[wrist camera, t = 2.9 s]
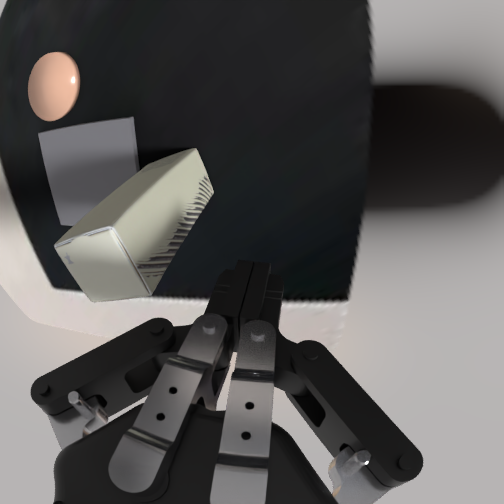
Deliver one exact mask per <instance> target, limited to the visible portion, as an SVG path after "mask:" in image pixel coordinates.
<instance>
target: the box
mask: <svg viewBox="0 0 504 504" xmlns="http://www.w3.org/2000/svg"><path fill="white" fill-rule="evenodd" d="M213 193H214V191H213V188H212V186H211V183H210V180H209V177H208V175H207V172H206V170H205V167H204V165H203V162H202V160H201V158H200V155H199V153H198V151H197V149H196V148H192V149H189V150H185V151H182V152H179V153H176V154H173V155H171V156H168V157H165V158H163V159H160V160H158V161H155V162H153V163H150V164H148V165H146V166H145V167H144V168H143V169H141V170H140V171H139V172H138V173H136V174H135V175H134V176H132V177H131V178H130V179H129V180H127V181H126V182H125V183H124V184H122V185H121V186H120V187H118V188H117V189H116V190H115V191H113V192H112V193H111V194H110V195H109V196H107V197H106V198H105V199H104V200H103V201H101V202H100V203H99V204H98V205H97V206H96V207H94V208H93V209H92V210H91V211H90V212H89V213H87V214H86V215H85V216H84V217H83V218H82V219H81V220H80V221H78V222H77V223H76V224H75V225H74V226H73V227H72V228H71V229H70V230H69V231H68V232H67V233H66V234H65V235H63V236H62V238H61V239H59V240H58V241H57V242H56V243H55V245H54V247H55V249H56V251H57V253H58V254H59V256H60V257H61V259H62V260H63V262H64V263H65V265H66V267H67V268H68V270H69V271H70V273H71V274H72V276H73V277H74V278H75V280H76V281H77V283H78V284H79V286H80V287H81V289H82V290H83V291H84V293H85V294H86V296H87V297H88V298H89V300H90V301H91V302H106V301H115V300H125V299H132V298H139V297H145V296H150V295H152V293H153V291H154V290H155V288H156V286H157V284H158V282H159V281H160V279H161V277H162V275H163V274H164V272H165V270H166V269H167V267H168V265H169V263H170V262H171V260H172V258H173V257H174V255H175V253H176V251H177V250H178V249H179V247H180V245H181V243H182V242H183V240H184V239H185V237H186V236H187V234H188V232H189V231H190V229H191V228H192V226H193V225H194V223H195V221H196V219H197V218H198V216H199V215H200V213H201V212H202V210H203V209H204V207H205V205H206V204H207V202H208V201H209V199H210V198H211V196H212V195H213Z"/></svg>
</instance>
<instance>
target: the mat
mask: <svg viewBox="0 0 504 504" xmlns="http://www.w3.org/2000/svg"><path fill="white" fill-rule="evenodd" d="M38 135H39V140H40V145H41V150H42V155H43V160H44V164H45V168H46V173H47V177H48V181H49V185H50V188H51V192H52V196H53V199H54V203H55V206H56V210H57V213H58V216H59V219H60V222H61V225H70V226H74V225H75V224H76V223H77V222H78V221H80V220H81V219H82V218H83V217H84V216H85V215H86V214H87V213H89V212H90V211H91V210H92V209H93V208H94V207H96V206H97V205H98V204H99V203H100V202H101V201H103V200H104V199H105V198H106V197H107V196H109V195H110V194H111V193H112V192H113V191H115V190H116V189H117V188H118V187H120V186H121V185H122V184H124V183H125V182H126V181H127V180H129V179H130V178H131V177H132V176H134V175H135V174H136V173H138V172H139V171H140V167H139V160H138V153H137V145H136V137H135V128H134V118H133V117H126V118H118V119H110V120H103V121H96V122H90V123H84V124H78V125H73V126H67V127H62V128H57V129H53V130H48V131H44V132H41V133H39V134H38Z"/></svg>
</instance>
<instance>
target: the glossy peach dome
mask: <svg viewBox="0 0 504 504" xmlns="http://www.w3.org/2000/svg"><path fill="white" fill-rule="evenodd" d="M79 89H80V74H79V70H78V67H77V64H76V62H75V61H74V59H73V58H72V57H71V56H70V55H69V54H67V53H64V52H53V53H48V54H46V55H44V56H43V57H41V58H40V59H39V60H38V62H37V63H36V64H35V66H34V68H33V70H32V72H31V75H30V78H29V84H28V95H29V101H30V104H31V107H32V109H33V110H34V112H35V113H36V115H37V116H39V117H40V118H41V119H43V120H46V121H54V120H57V119H59V118H62V117H64V116H65V115H67V114H68V113H69V112H70V111H71V109H72V108H73V107H74V105H75V103H76V101H77V98H78V94H79Z"/></svg>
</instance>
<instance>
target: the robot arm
mask: <svg viewBox="0 0 504 504" xmlns="http://www.w3.org/2000/svg"><path fill="white" fill-rule="evenodd" d="M270 269H271V263H263V262H255V263H254V262H253V261H244V260H238V262H237V265H236V268H235V270H228V269H226V270H225V271H224V272H223V273H222V274H221V275H219V278H218V280H217V283H216V285H215V288H214V291H213V293H212V295H211V298H210V300H209V303H208V305H207V308H206V310H205V313H204V315H201V316H200V317H198V318H197V319H196V320H195V321H194V323H193V324H191V325H186V326H174V327H173V325H172V323H171V322H170V321H169V320H167V319H165V318H153V319H151V320H148V321H147V322H145V323H143V324H141V325H139V326H137V327H135V328H133V329H131V330H130V331H128V332H126V333H124V334H122V335H120V336H118V337H116V338H114V339H112V340H111V341H109V342H107V343H105V344H103V345H101V346H99V347H97V348H95V349H93V350H91V351H89V352H88V353H86V354H84V355H82V356H80V357H78V358H76V359H74V360H72V361H70V362H68V363H66V364H64V365H62V366H60V367H59V368H57V369H55V370H53V371H51V372H49V373H47V374H45V375H43V376H41V377H39V378H38V379H37V380H35V382H34V383H33V385H32V387H31V397H32V399H33V400H34V402H35V403H36V404H37V405H38V406H39V407H40V408H42V410H43V411H44V412H45V413H46V414H47V415H48V417H49V420H50V423H51V425H52V428H53V430H54V432H55V435H56V438H57V440H58V442H59V445H60V447H61V449H62V451H61V452H60V453H59V455H58V456H57V458H56V461H55V464H54V479H55V499H54V503H53V504H373V503H374V502H375V501H377V500H378V499H379V498H381V497H382V496H383V495H384V494H386V493H387V492H388V491H389V490H391V489H393V488H396V487H398V486H400V485H402V484H404V483H406V482H408V481H410V480H412V479H414V478H415V477H416V476H417V475H418V474H419V473H420V471H421V469H422V467H423V457H422V454H421V452H420V451H419V450H418V449H417V448H416V447H415V445H414V444H413V443H412V442H411V441H410V440H409V439H408V438H407V437H406V436H405V435H404V433H403V432H401V430H400V429H399V428H398V427H397V426H396V425H395V424H394V423H393V422H392V420H391V419H390V418H389V417H388V416H387V415H386V414H385V413H384V412H383V410H382V409H381V408H380V407H379V406H378V405H377V404H376V403H375V402H374V401H373V400H372V398H371V397H370V396H369V395H368V394H367V393H366V392H365V391H364V390H363V389H362V387H361V386H360V385H359V384H358V383H357V382H356V381H355V380H354V378H353V377H352V376H351V375H350V374H349V373H348V372H347V371H346V370H345V368H344V367H343V366H342V365H341V364H340V363H339V362H338V361H337V360H336V358H335V357H334V356H333V355H332V354H331V353H330V352H329V351H328V350H327V348H326V347H325V346H324V345H322V344H321V343H319V342H317V341H313V340H305V341H302V342H299V343H298V344H297V343H295V342H292V341H290V340H288V339H286V338H285V337H284V336H283V335H282V334H281V333H280V331H279V328H278V327H279V320H280V313H281V306H282V297H283V287H284V282H283V280H282V278H281V276H280V275H272V274H270ZM233 352H237V358H236V364H235V370H234V372H233V373H232V376H231V382H230V388H229V394H228V400H227V406H226V410H225V411H216V406H217V401H218V398H219V395H220V392H221V390H222V387H223V384H224V382H225V379H226V376H227V373H228V371H229V367H230V361H231V357H232V354H233ZM274 387H277V388H279V389H281V390H283V391H285V393H286V395H287V397H288V398H289V400H290V401H291V402H292V403H293V405H294V406H295V408H296V409H297V410H298V412H299V413H300V414H301V416H302V417H303V418H304V420H305V421H306V422H307V424H308V425H309V426H310V428H311V429H312V430H313V432H314V433H315V434H316V435H317V437H318V438H319V439H320V441H321V442H322V443H323V444H324V446H325V447H326V448H327V450H328V451H329V452H330V453H331V455H332V456H333V457H334V459H333V460H332V462H331V463H330V465H329V469H328V473H329V477H330V479H331V481H332V483H333V493H332V494H331V492H330V491H329V490H328V488H327V487H326V486H325V484H324V483H323V481H322V480H321V479H320V477H319V476H318V474H317V473H316V471H315V470H314V469H313V467H312V466H311V464H310V463H309V461H308V460H307V459H306V457H305V455H304V454H303V453H302V451H301V450H300V448H299V447H298V445H297V444H296V442H295V441H294V439H293V438H292V437H291V436H290V434H289V433H288V432H286V431H285V430H284V429H283V428H282V427H280V426H278V425H277V424H275V423H273V422H272V408H273V392H274ZM147 395H148V397H147V399H146V401H145V403H142V404H140V405H138V406H136V407H134V408H132V409H131V410H129V411H128V412H126V413H124V414H123V415H121V416H119V417H118V418H116V419H114V420H113V421H111V422H109V423H107V422H108V417H110V416H112V415H114V414H115V413H117V412H119V411H121V410H122V409H124V408H126V407H128V406H130V405H132V404H133V403H135V402H137V401H138V400H140V399H142V398H144V397H146V396H147Z"/></svg>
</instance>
